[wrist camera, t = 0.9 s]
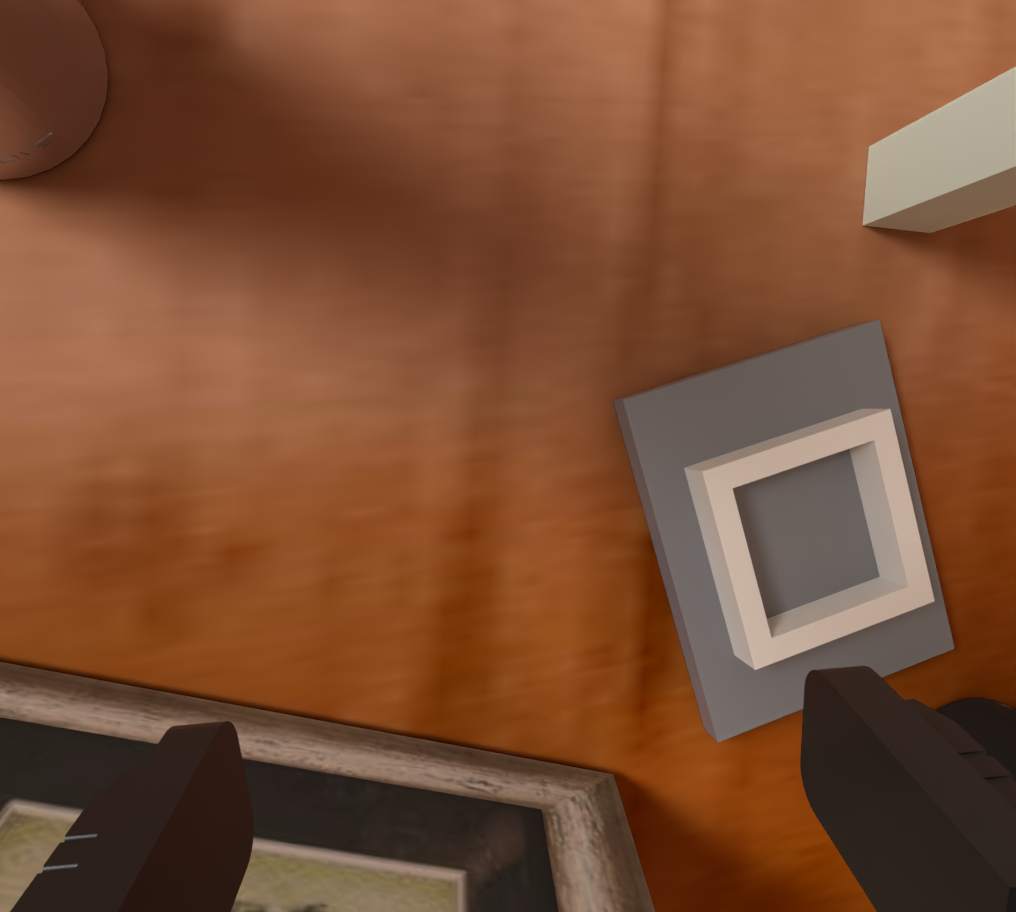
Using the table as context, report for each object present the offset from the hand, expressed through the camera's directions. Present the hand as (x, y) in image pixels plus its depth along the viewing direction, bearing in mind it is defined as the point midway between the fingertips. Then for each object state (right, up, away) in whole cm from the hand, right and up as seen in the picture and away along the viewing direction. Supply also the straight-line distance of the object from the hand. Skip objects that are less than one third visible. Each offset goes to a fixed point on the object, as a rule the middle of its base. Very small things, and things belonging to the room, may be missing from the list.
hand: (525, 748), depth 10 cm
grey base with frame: (+14, 0, +26) cm, 30 cm away
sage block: (+20, +18, +26) cm, 38 cm away
